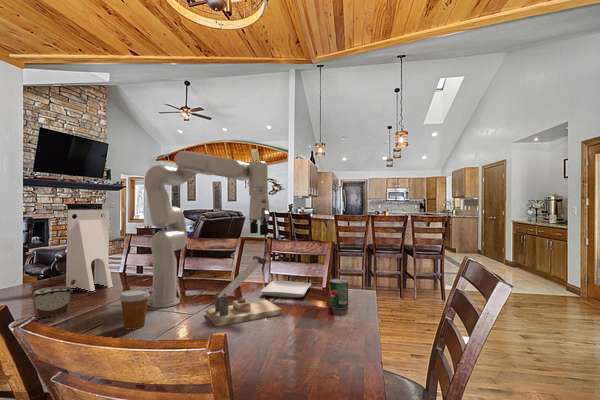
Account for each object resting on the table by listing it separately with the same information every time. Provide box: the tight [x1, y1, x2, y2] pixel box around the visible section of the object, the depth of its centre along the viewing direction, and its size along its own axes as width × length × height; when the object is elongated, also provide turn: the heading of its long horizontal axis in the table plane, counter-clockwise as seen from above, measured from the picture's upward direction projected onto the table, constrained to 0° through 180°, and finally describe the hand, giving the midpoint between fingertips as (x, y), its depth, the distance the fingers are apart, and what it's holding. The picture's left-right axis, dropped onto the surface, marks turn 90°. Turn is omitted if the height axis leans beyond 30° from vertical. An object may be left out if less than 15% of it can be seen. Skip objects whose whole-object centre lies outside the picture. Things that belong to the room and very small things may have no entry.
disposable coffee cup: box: [119, 288, 151, 330], centre depth 114 cm, size 10×10×12 cm
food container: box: [32, 285, 73, 319], centre depth 126 cm, size 12×6×10 cm, turn 134°
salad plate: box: [260, 280, 312, 299], centre depth 160 cm, size 21×21×3 cm
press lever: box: [217, 253, 267, 299], centre depth 127 cm, size 23×8×2 cm
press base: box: [205, 291, 283, 327], centre depth 127 cm, size 26×14×9 cm, turn 121°
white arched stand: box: [65, 209, 114, 292], centre depth 167 cm, size 20×14×40 cm
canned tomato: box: [329, 278, 349, 310], centre depth 139 cm, size 8×8×11 cm
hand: (258, 234), depth 132 cm, fingers open, 9 cm apart
